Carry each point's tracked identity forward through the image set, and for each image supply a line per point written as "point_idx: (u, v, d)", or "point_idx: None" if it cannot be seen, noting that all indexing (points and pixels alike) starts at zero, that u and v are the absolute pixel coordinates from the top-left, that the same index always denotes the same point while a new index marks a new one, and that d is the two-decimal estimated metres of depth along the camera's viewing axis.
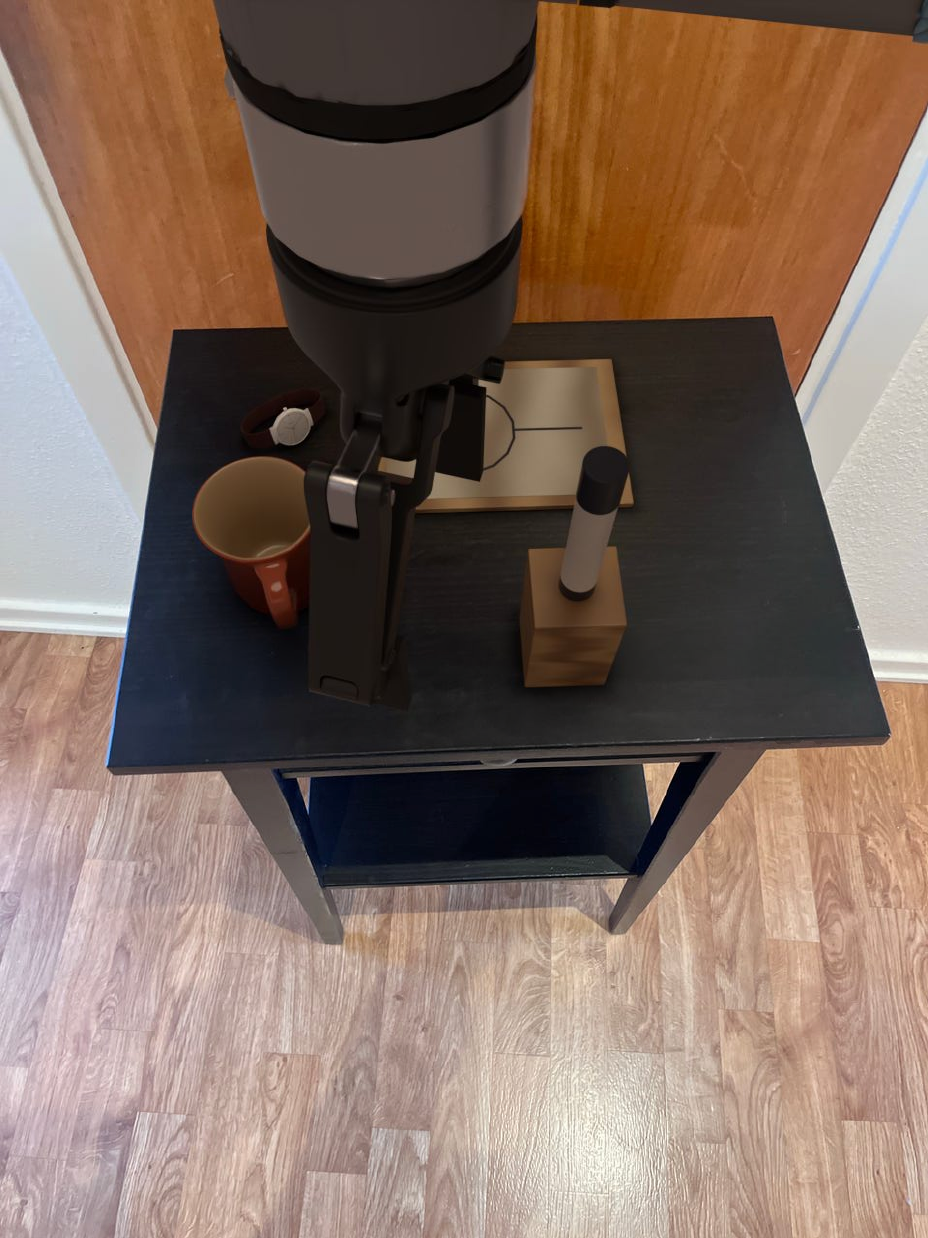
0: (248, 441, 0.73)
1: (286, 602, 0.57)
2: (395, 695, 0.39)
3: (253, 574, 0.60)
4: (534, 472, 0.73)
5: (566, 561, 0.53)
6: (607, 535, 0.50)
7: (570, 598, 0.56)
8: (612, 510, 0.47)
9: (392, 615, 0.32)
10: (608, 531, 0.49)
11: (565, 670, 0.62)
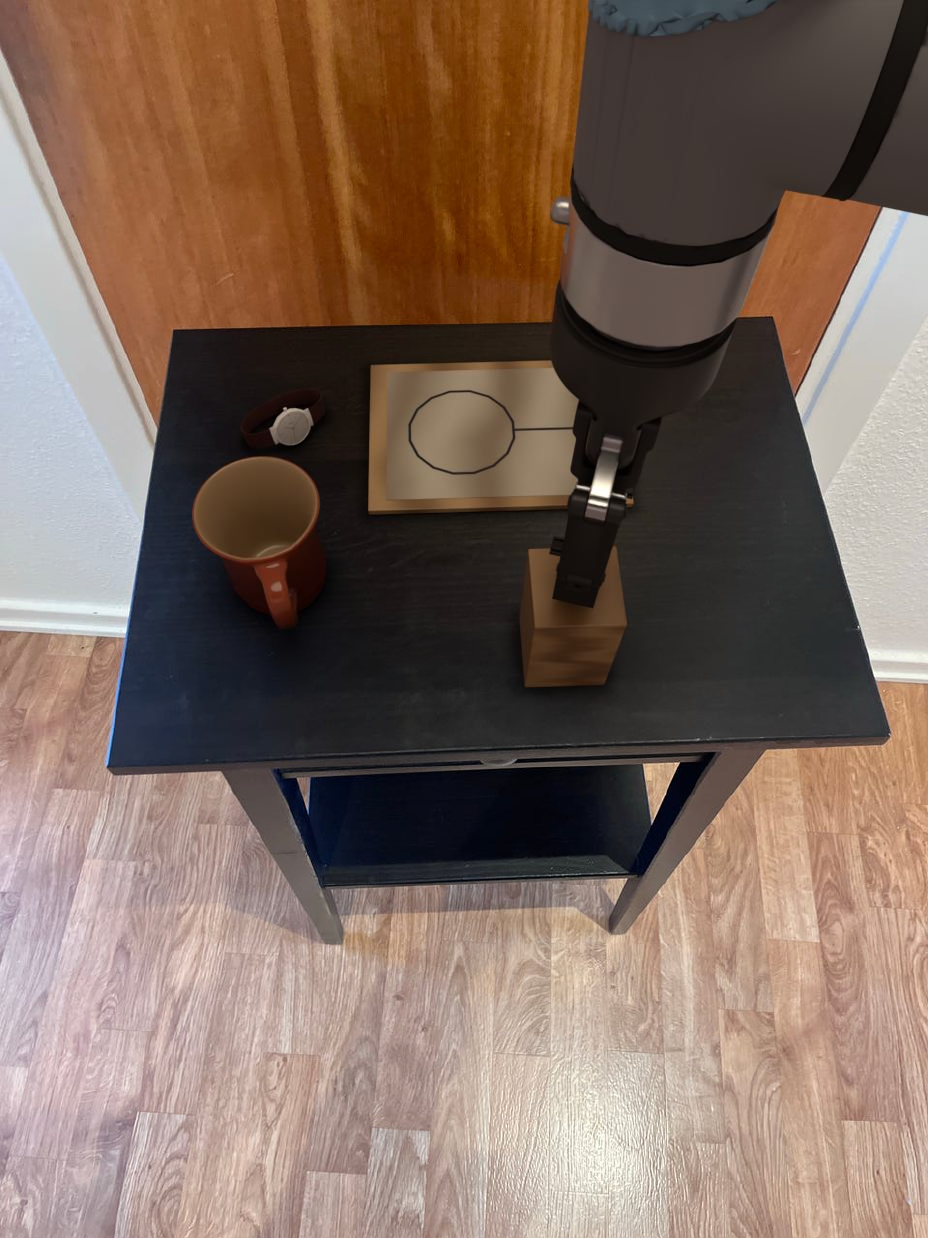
0: (248, 441, 0.73)
1: (286, 602, 0.57)
2: (589, 594, 0.54)
3: (253, 574, 0.60)
4: (534, 472, 0.73)
5: None
6: None
7: None
8: None
9: None
10: None
11: (565, 670, 0.62)
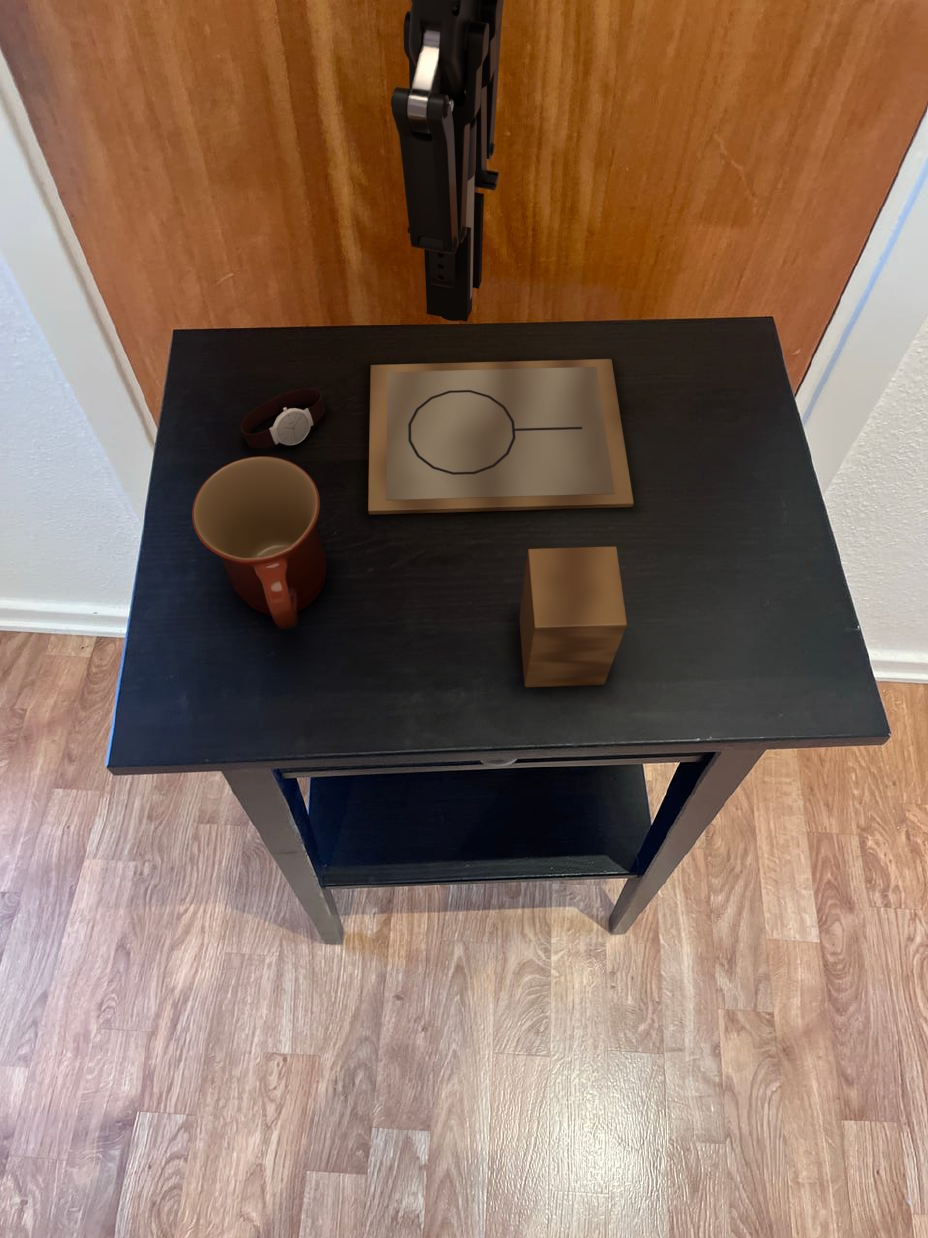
0: (248, 441, 0.73)
1: (286, 602, 0.57)
2: (459, 300, 0.54)
3: (253, 574, 0.60)
4: (534, 472, 0.73)
5: None
6: (468, 220, 0.51)
7: None
8: None
9: (461, 203, 0.47)
10: (467, 214, 0.50)
11: (565, 670, 0.62)
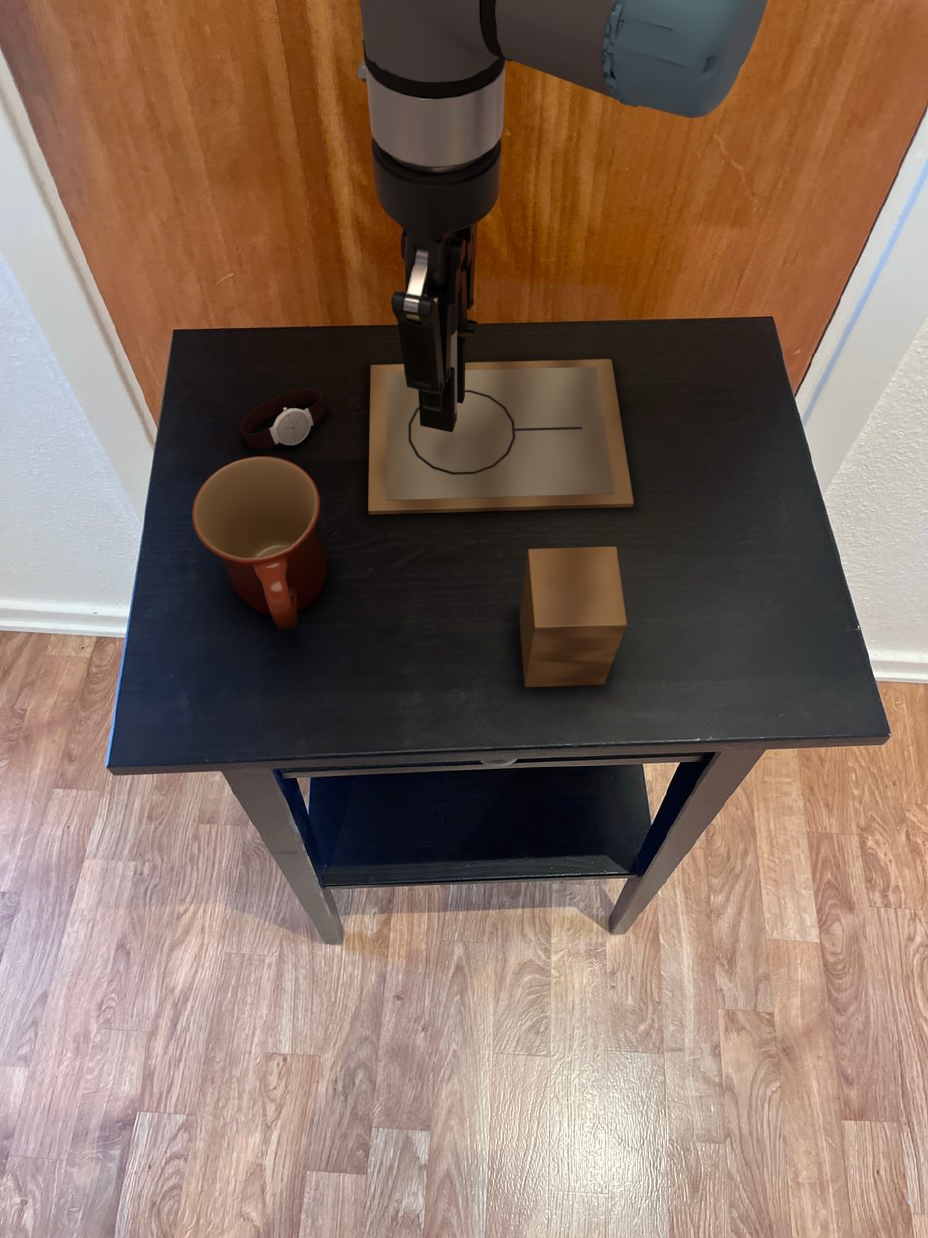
0: (248, 441, 0.73)
1: (286, 602, 0.57)
2: (446, 417, 0.68)
3: (253, 574, 0.60)
4: (534, 472, 0.73)
5: None
6: (452, 361, 0.64)
7: None
8: None
9: (446, 356, 0.60)
10: (452, 357, 0.63)
11: (565, 670, 0.62)
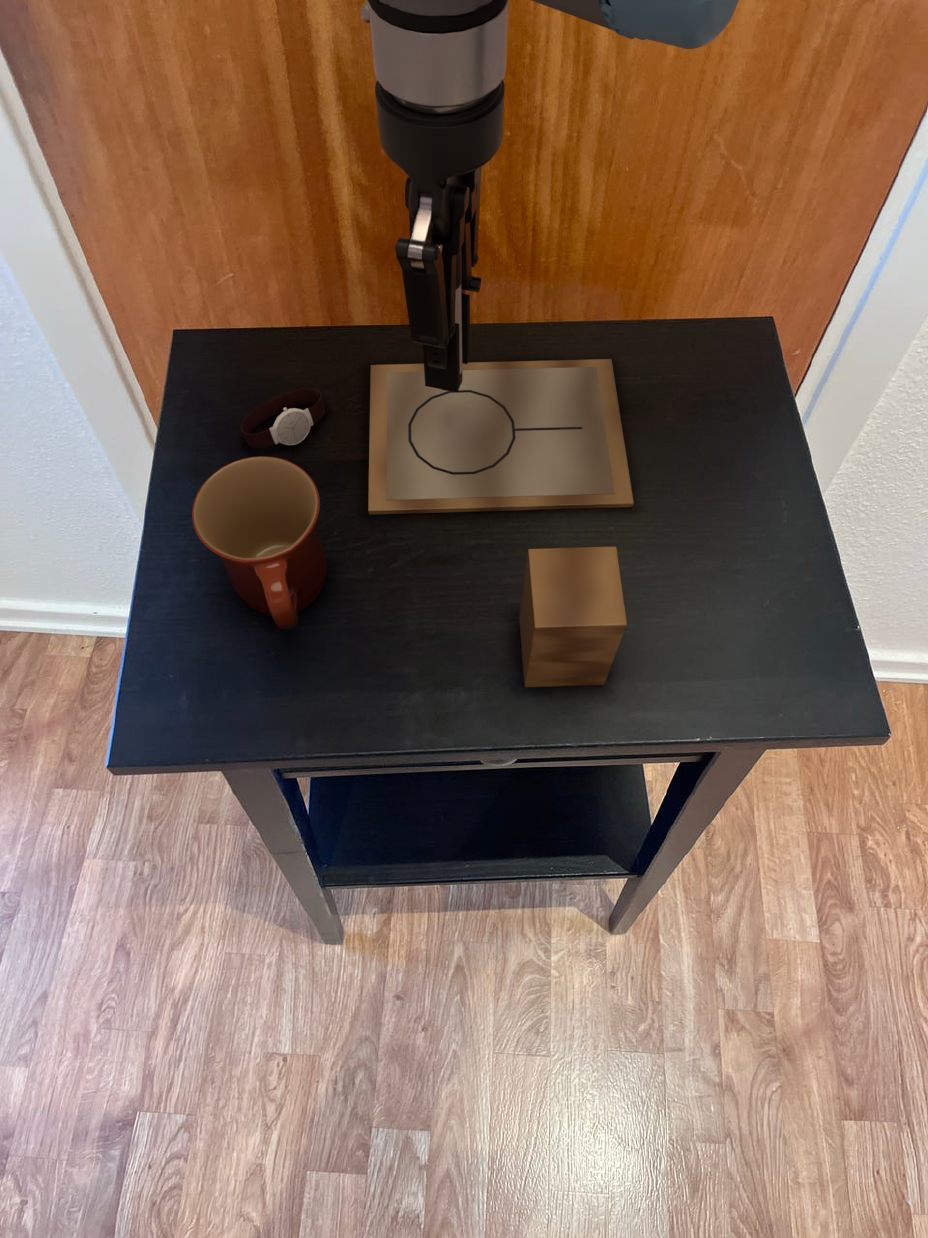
0: (248, 441, 0.73)
1: (286, 602, 0.57)
2: (451, 376, 0.68)
3: (253, 574, 0.60)
4: (534, 472, 0.73)
5: None
6: (456, 317, 0.64)
7: None
8: None
9: (450, 309, 0.60)
10: (456, 313, 0.64)
11: (565, 670, 0.62)
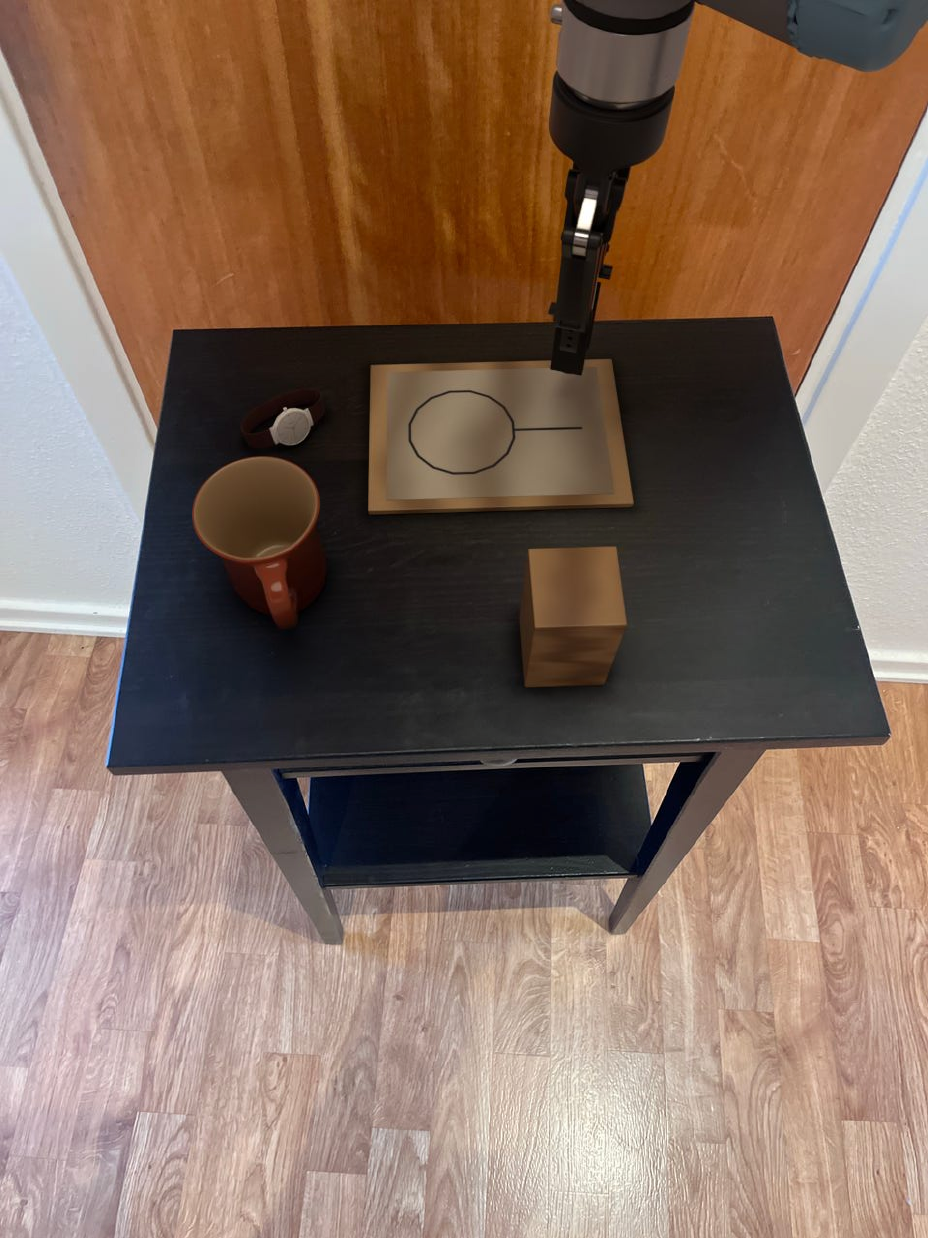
0: (248, 441, 0.73)
1: (286, 602, 0.57)
2: (578, 360, 0.71)
3: (253, 574, 0.60)
4: (534, 472, 0.73)
5: None
6: None
7: None
8: None
9: (592, 295, 0.64)
10: None
11: (565, 670, 0.62)
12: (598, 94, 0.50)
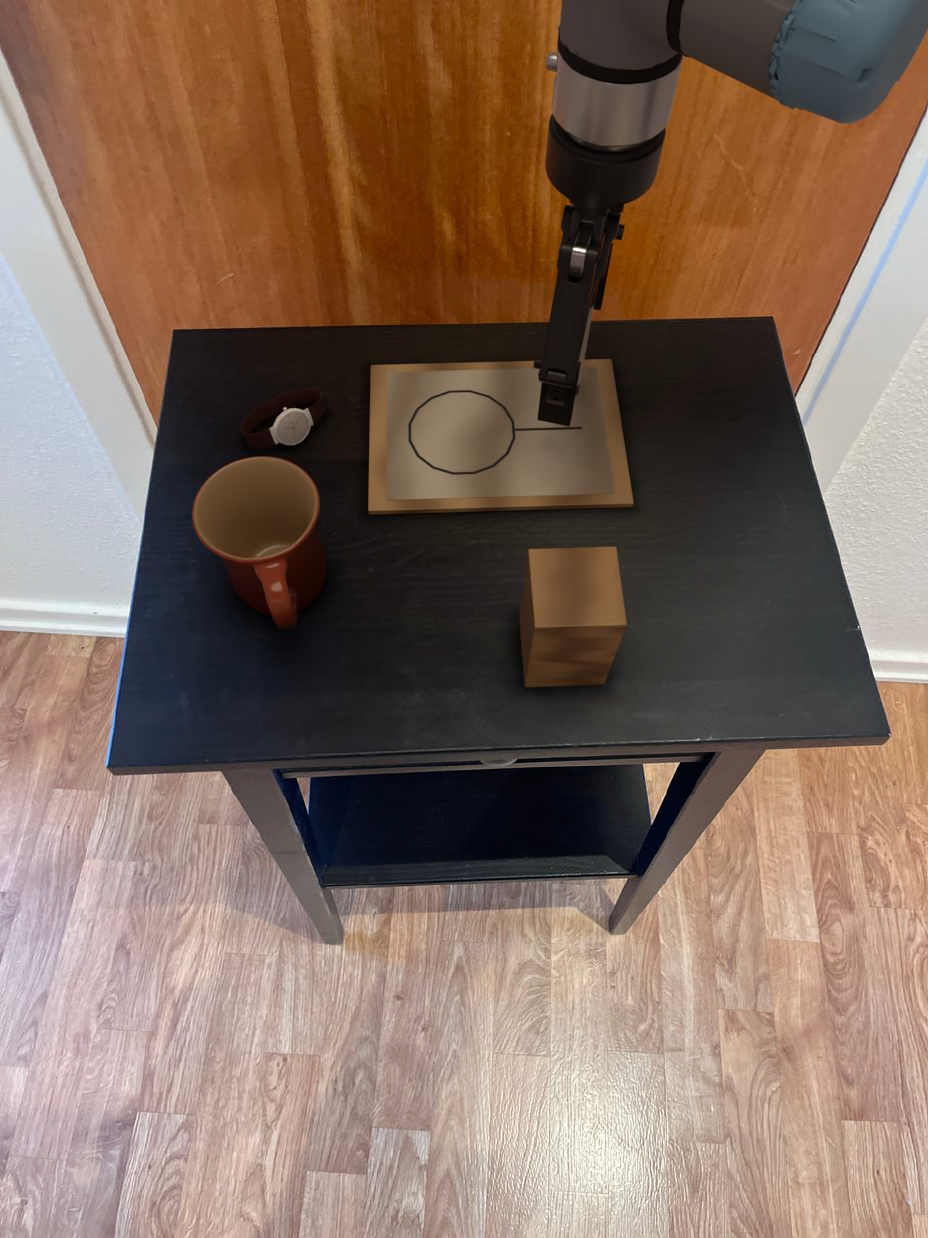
0: (248, 441, 0.73)
1: (286, 602, 0.57)
2: (566, 411, 0.69)
3: (253, 574, 0.60)
4: (534, 472, 0.73)
5: None
6: (586, 332, 0.70)
7: None
8: None
9: (582, 340, 0.62)
10: (587, 328, 0.69)
11: (565, 670, 0.62)
12: (592, 138, 0.52)
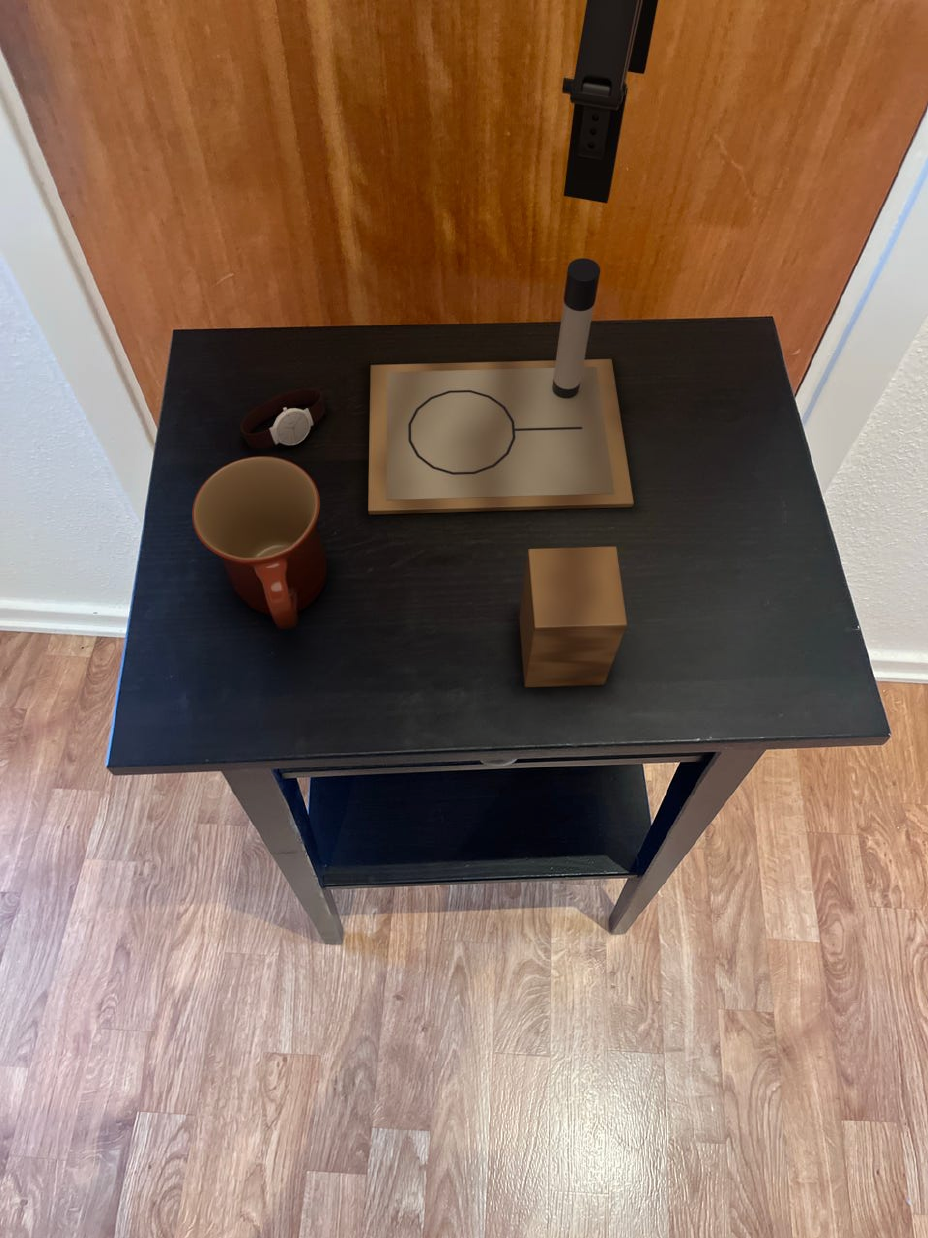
0: (248, 441, 0.73)
1: (286, 602, 0.57)
2: (603, 177, 0.51)
3: (253, 574, 0.60)
4: (534, 472, 0.73)
5: (557, 361, 0.73)
6: (586, 332, 0.70)
7: (561, 396, 0.76)
8: (589, 307, 0.67)
9: (631, 42, 0.44)
10: (587, 328, 0.69)
11: (565, 670, 0.62)
12: None
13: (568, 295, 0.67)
